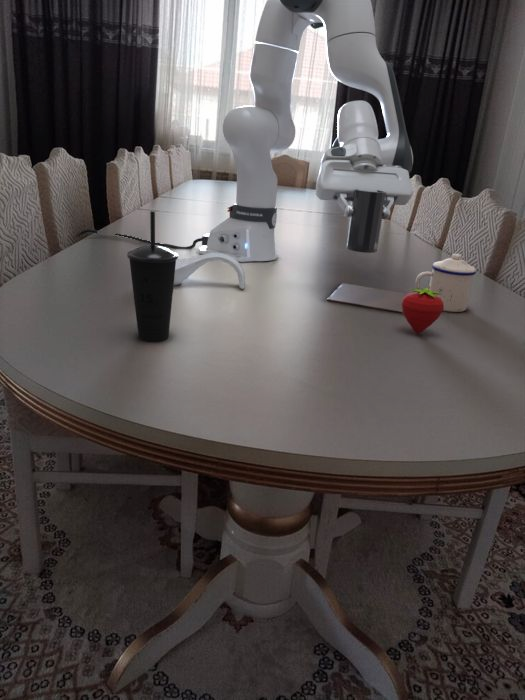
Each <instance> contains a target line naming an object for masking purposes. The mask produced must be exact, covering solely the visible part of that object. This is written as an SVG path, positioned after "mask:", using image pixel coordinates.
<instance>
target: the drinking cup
mask: <svg viewBox="0 0 525 700" xmlns="http://www.w3.org/2000/svg"><path fill="white" fill-rule="evenodd" d="M149 213H150V215H149V216H150V222H149V223H150V225H149V226H150V227H149V228H150V241H151V244H148V245H142V246H139V247H137V248H134V249H132V250H130V251H128V252H127V253H126V256H127V258H128V259H129V267H130V275H131V283H132V284H131V285H132V292H133V303H134V310H135V318H136V327H137V335H138V338H139V340H141V341H143V342H149V343H157V342H164V341H166V340H168V339H169V335H170V325H171V315H172V306H173V305H172V304H173V296H174V286H175V285H174V276H175V266H176V260H177V259H179V254H178V253H177V252H174V251H172V250H171V249H169V248H168V247H163V246H157V245H155V242H156V211H150V212H149Z"/></svg>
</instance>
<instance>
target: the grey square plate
mask: <svg viewBox="0 0 525 700" xmlns="http://www.w3.org/2000/svg"><path fill="white" fill-rule="evenodd" d="M408 294H409V293H407V292H401V291H393V290H388V289H381V288H375V287H369V286H363V285H362V286H361V285H356V284H350V283H341V284H340V285H339V286H338V287H337V289H335V290H334V291H333V293H332V294H331V295H330V296H328V298H327V299H326V301H327V302H332V303H338V304H344V305H350V306H354V307H355V306H356V307H362V308H367V309H373V310H380V311H384V312H391V313H397V314H403V311H402V304H401V303H402V300H403V298H404V297H405V296H406V295H408Z"/></svg>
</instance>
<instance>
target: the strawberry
mask: <svg viewBox="0 0 525 700" xmlns="http://www.w3.org/2000/svg"><path fill="white" fill-rule="evenodd" d="M427 283H428V287H424V288H422V290H419V289H417V288H411V292H410V293H407V294H408V295H406V296H405V297H404V298H403V300H402V303H401V304H402V311H403V312H402V314H403V315H404V318H405V319H406V321H407V323H408V325H410V327H411V329H412V331H413V332H414V333H416V334H421V333H423V332H424V331H425V330H426V329H428V328H429V327H431V326H432V325H433V324H434V323H435V322H436V321H437V320H438V319H439V318H440V317H441V314H442V312H444V311H443V309H444V306H443V301H442V300H441V298H439V297H437V296H435V295H434V294H437V295H441V294H440V293H437V292H433V291H431V290H429V289H430V281H429V280H427ZM423 290H424V291H423Z"/></svg>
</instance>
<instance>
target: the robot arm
mask: <svg viewBox="0 0 525 700" xmlns="http://www.w3.org/2000/svg"><path fill="white" fill-rule="evenodd" d="M374 16H375V15H374V11H373V4H372V0H266V2H265V3H264V7H263V10H262V13H261V16H260V19H259V23H258V26H257V30H256V35H255V40H254V44H253V45H254V46H253V52H252V57H251V62H250V68H249V75H248V77H249V81H250V84H251V86H252V89H253V96H254V106H253V105H243V106H238V107H234V108H232V109H231V110H229V111H228V112H227V114H226V115H225V116H224V119H223V122H222V123H223V124H222V133H223V137H224V140H225V142H226V143H227V144H228V146H229V147H230V149H231V152H232V155H233V160H234V165H235V170H236V196H235V198H236V199H235V203H234V204H233V205H230V206H229V207H227V211H226V212H228V213H229V217H227V218H226V219H225V220H223V221H222V222H221V223H219V224H218V225H216V226H215V227H213V228H212V229H211V230H210V232H209V233H206V234H204V235H202V236H201V237H200V238H196V239H195V240H193V242H192V243H191V245H188V246H179V245H174V244H170V243H164V244H160V243H161V242H157V243H155V246H161V247H164V248H170V249H175V250H176V249H179V250H192V249H194V248H195V247H196V244H197V243H199V242H201V247H199V249H198V253H199V254H200V255H203V254H208V253H222V254H225V255H228V256H230V257H232V258H234V259H235V260H236V261H238V262H239V263H242V262H243V263H245V262H246V263H247V262H269V261H274V260H277V258H278V255H277V250H276V238H275V237H276V236H275V228H276V225H277V218H278V208H277V207H276V205H277V193H278V183H279V182H278V181H279V180H278V176H277V174H276V171H274V168H273V164H272V163H273V162H272V158H271V154H277V153H279V152H283V151H285V150H287V149H289V148H290V147H291V146H292V144H293V143H294V141H295V138H296V126H295V123H294V121H293V117H292V89H293V81H294V76H295V71H296V66H297V62H298V56H299V51H300V45H301V41H302V36H303V35H304V32H305V30H306V29H307V28H308V27H311V28H312V29H314V30H316V29H320V28H323V27H324V30H325V32H324V33H325V49H326V50H325V51H326V60H327V64H328V70H329V71H330V72H329V73H331V75H332V76H333V77H334V78H335V79H336V80H337V81H338V82H340V83H341V84H343V85H345V86H348V87H350V88H354V89H357V90H361V91H364V92H367V93H369V94H371V95H373V96H374V97H375V98H376V99H377V100H378V101H379V103H380V106H381V110H382V116H383V121H384V124H385V125H384V126H385V131H386V134H387V135H386V137H384V138H379V128H378V123H377V119H376V114H375V112H374V109H373V106H372V105H371V104H370V103H369V102H368V101H366V100H361V99H360V100H359V99H358V100H351V101H348V102H346V103H344V104H343V105H342V106H340V108H339V110H338V113H337V122H336V123H337V126H336V127H337V129H336V130H337V133H336V134H337V137H336V138H335V140H334V142H333V144H332V145H331V147H330V148H327V149H326V150H325V151H324V153H323V156H322V158H321V160H320V165H319V171H318V176H317V178H316V183H315V195H316V197H317V198H318V199H319V200H321V201H334V202H335V201H336V202H337V205H338V206H339V207H340V209H341V210H342V211H343V217H344V218H350V217H352V215H353V206H352V204H349V203H352V201H353V194H354V189H358V190H361V191H370V192H377V190H380V191H385V192H387V193H386V199H385V205H384V212H383V218H382V220H390V217H391V208H392V206H393V205H394V206H406V205H407V204H408V203H409V202H410V200H411V199H412V197H413V194H414V190H413V189H414V188H413V186H412V185H413V184H412V182H411V178H410V173H411V172H412V170H413V164H414V154H413V149H412V146H411V143H410V139H409V136H408V132H407V128H406V123H405V118H404V113H403V107H402V103H401V98H400V93H399V88H398V84H397V80H396V75H395V72H394V68H393V66H392V65H391V63H390V62H388V61H386V60H384V59H383V57H382V55H381V54H380V52H379V50H378V46H377V41H376V40H377V39H376V25H375V17H374ZM97 231H98V230H97V229H92V228H86V229H83V230H81V231H79V233H78V235H79V236H82V235H84V234H86V233H93V234H98V233H97ZM121 234H122V233H116V234H115V235H119V236H124V237H128V238H127V239H130V238H132V239H131V240H134V239H135V241H137V242H141V243H145V244H148V245H151V242H150V241H151V240H149V241H147V240H148V239H145V240H142V239H143V238H141V239H139V238H140V237H137V238H135V237H136V236H134V237H132V236H133V235H130V236H127V235H128V234H124V235H121ZM124 237H123V238H124Z"/></svg>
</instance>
